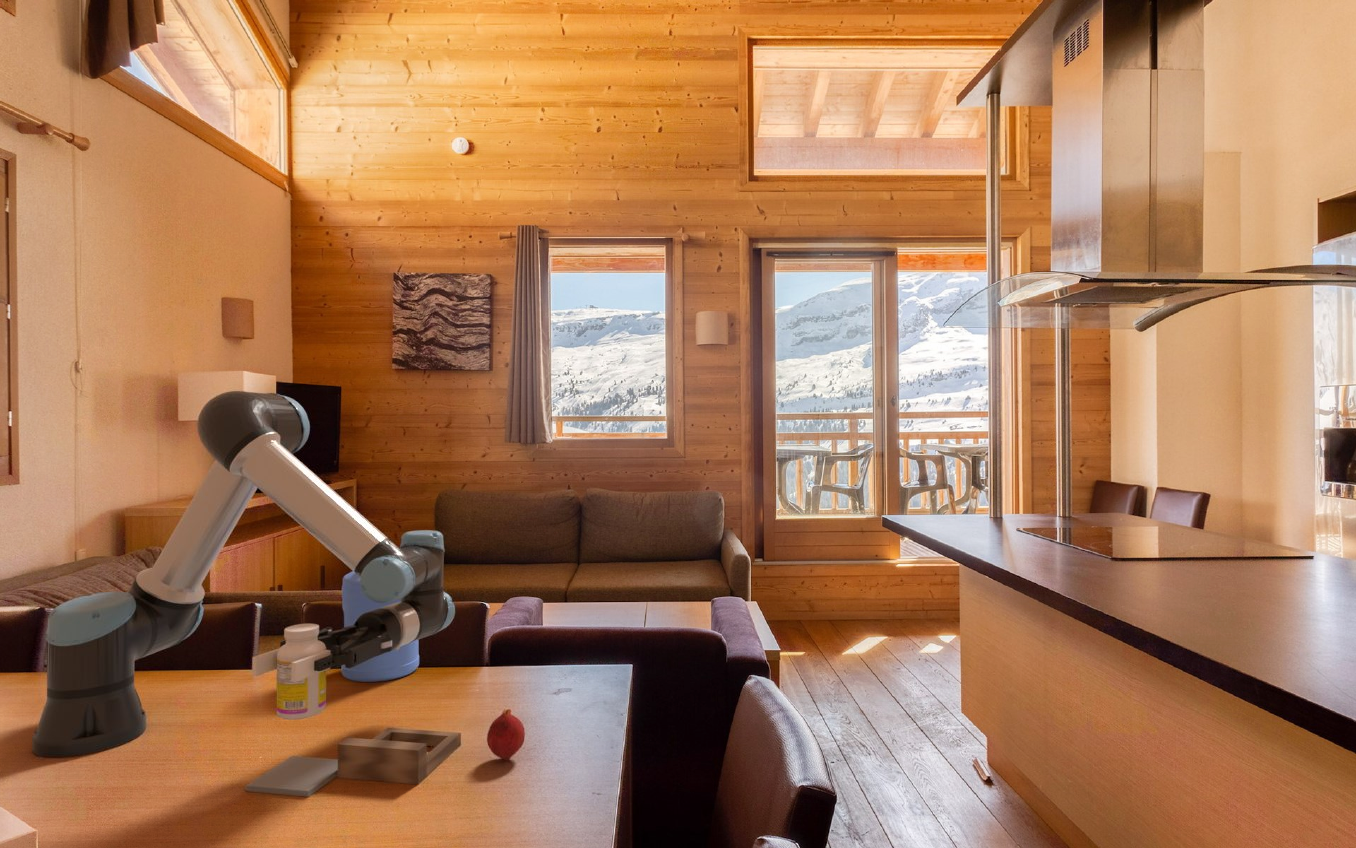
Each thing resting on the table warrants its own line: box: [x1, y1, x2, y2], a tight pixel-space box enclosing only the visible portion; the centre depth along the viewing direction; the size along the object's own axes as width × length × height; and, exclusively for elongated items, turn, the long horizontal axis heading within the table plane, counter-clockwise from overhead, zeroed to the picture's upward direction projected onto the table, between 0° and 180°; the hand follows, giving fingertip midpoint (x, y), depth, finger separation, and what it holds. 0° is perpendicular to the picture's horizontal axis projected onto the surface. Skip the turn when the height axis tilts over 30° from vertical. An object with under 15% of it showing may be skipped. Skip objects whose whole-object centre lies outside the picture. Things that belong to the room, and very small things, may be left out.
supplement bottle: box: [276, 623, 327, 721], centre depth 112 cm, size 7×7×13 cm
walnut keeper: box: [337, 727, 462, 786], centre depth 118 cm, size 13×14×5 cm
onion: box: [486, 707, 526, 761], centre depth 118 cm, size 6×6×8 cm
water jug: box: [340, 570, 420, 683], centre depth 162 cm, size 16×16×28 cm
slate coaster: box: [245, 755, 338, 798], centre depth 112 cm, size 10×10×1 cm
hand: (273, 669), depth 108 cm, fingers closed on supplement bottle, 7 cm apart
